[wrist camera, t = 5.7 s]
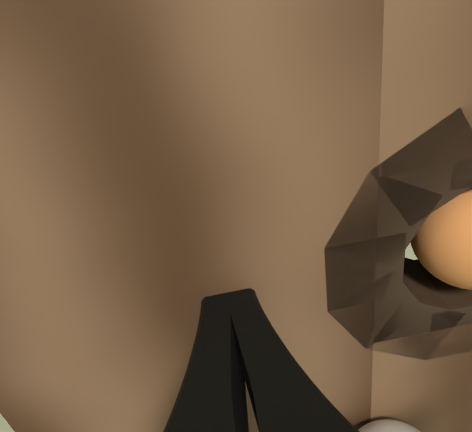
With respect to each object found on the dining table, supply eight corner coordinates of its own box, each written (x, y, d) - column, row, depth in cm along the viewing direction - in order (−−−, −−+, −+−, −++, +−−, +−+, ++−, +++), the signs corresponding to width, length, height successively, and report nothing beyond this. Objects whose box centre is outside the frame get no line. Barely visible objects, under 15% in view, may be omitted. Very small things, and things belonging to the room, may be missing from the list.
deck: (97, 465, 20) (88, 525, 18) (-288, -133, 8) (-443, -153, 6) (516, 378, 21) (555, 428, 19) (744, -317, 9) (928, -395, 6)
